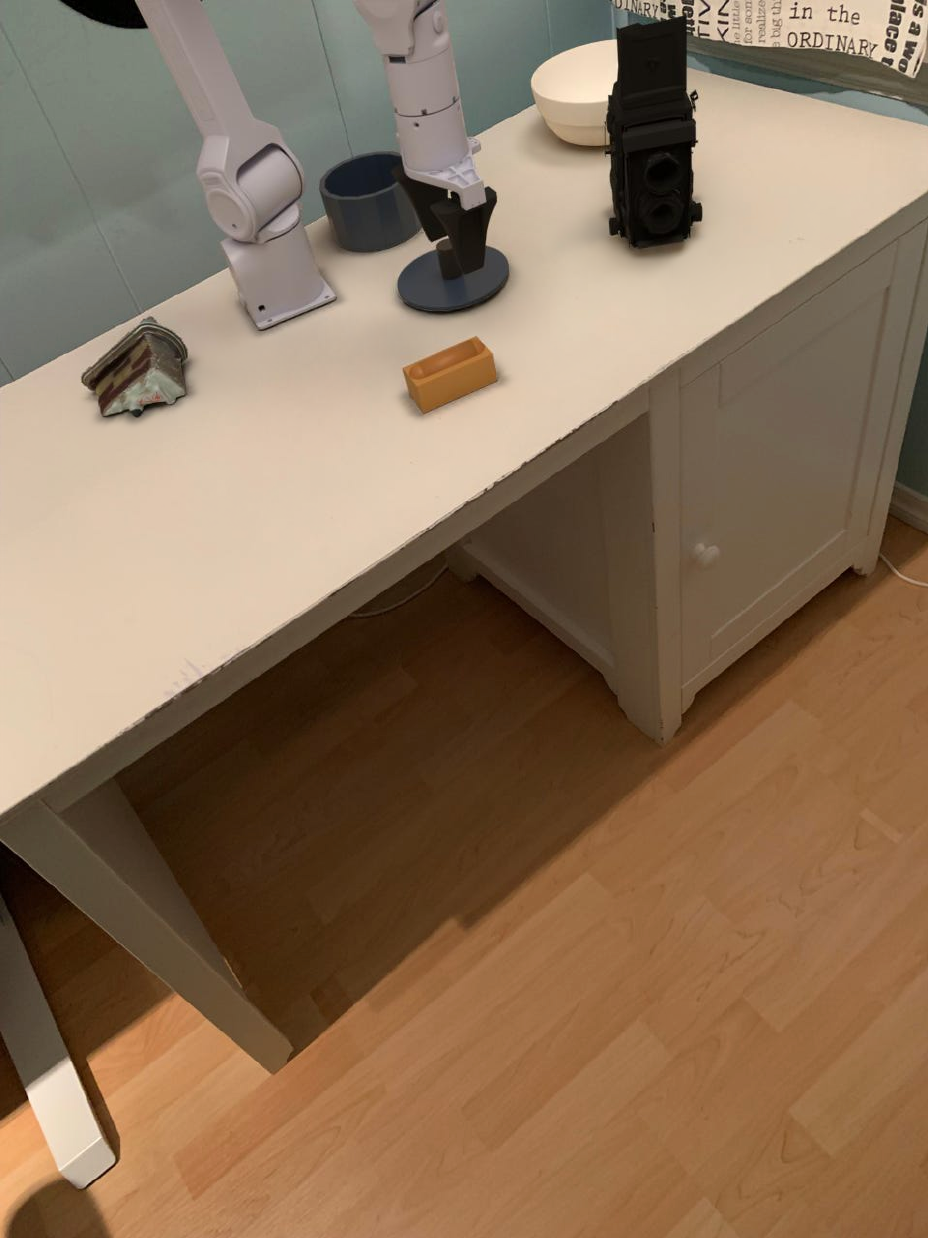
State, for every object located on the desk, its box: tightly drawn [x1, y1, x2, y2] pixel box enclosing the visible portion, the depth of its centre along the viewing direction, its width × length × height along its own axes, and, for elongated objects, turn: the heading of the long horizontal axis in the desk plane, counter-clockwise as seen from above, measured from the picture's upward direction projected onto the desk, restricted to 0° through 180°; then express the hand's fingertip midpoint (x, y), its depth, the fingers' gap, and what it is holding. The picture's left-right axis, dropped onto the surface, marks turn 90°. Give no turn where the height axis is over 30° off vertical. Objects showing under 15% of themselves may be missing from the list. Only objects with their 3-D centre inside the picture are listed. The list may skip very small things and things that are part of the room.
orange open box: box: [402, 335, 498, 414], centre depth 84 cm, size 8×4×4 cm, turn 115°
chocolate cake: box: [80, 315, 189, 417], centre depth 93 cm, size 10×7×12 cm
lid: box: [396, 238, 510, 312], centre depth 95 cm, size 12×12×5 cm
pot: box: [318, 150, 422, 253], centre depth 106 cm, size 11×11×6 cm
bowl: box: [530, 38, 618, 147], centre depth 111 cm, size 18×18×7 cm
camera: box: [604, 14, 703, 250], centre depth 89 cm, size 10×14×20 cm
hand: (455, 253), depth 84 cm, fingers open, 7 cm apart
